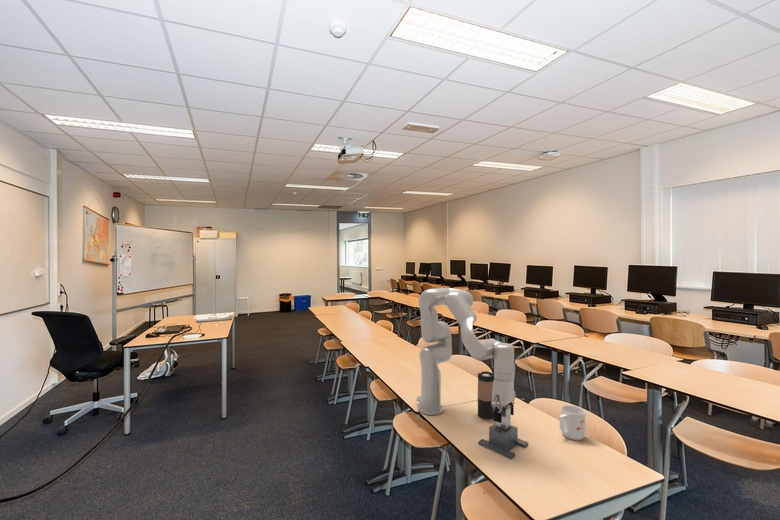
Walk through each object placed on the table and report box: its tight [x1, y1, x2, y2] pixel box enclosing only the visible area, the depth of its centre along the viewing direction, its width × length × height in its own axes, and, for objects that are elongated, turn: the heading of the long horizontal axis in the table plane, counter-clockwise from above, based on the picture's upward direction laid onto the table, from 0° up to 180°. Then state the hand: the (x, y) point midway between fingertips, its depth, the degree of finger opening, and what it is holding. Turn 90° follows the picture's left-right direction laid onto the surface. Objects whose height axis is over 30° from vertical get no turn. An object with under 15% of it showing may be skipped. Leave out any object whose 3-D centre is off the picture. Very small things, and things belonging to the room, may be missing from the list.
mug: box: [558, 404, 586, 441], centre depth 143 cm, size 12×9×11 cm
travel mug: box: [477, 371, 495, 421], centre depth 161 cm, size 8×8×20 cm
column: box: [495, 403, 512, 432], centre depth 136 cm, size 4×4×16 cm
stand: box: [478, 422, 529, 460], centre depth 136 cm, size 14×14×8 cm
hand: (503, 417), depth 136 cm, fingers open, 9 cm apart
